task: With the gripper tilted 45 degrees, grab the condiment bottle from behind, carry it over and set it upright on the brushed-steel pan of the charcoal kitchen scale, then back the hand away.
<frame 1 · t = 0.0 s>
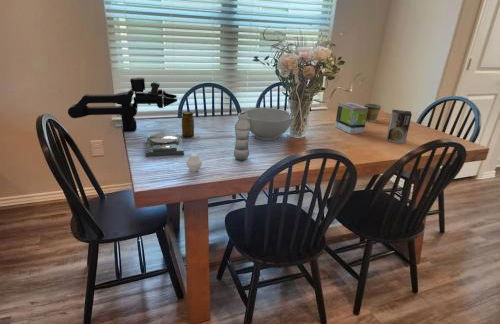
hand: (176, 98, 171), 17 cm above the table, tool horizontal, fingers open, 9 cm apart
scale pan: (164, 137, 150), point 4 cm above the table, slide at 0.0 cm
condiment: (188, 136, 166), on the table
scale base: (165, 147, 149), on the table
coffee box: (395, 141, 172), on the table
decorative bowl: (266, 136, 171), on the table
ceramic cup: (369, 120, 210), on the table
tea box: (348, 130, 188), on the table
plastic bottle: (241, 159, 141), on the table
white egg shape: (194, 170, 128), on the table
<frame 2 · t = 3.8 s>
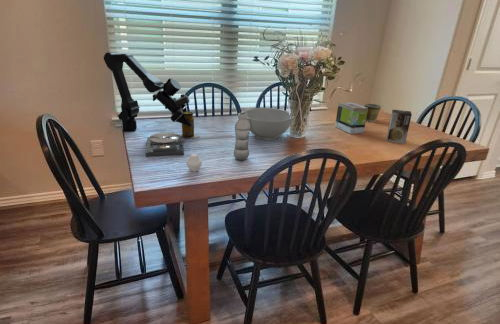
hand: (191, 123, 164), 7 cm above the table, tool tilted 45°, fingers open, 7 cm apart
condiment: (188, 136, 166), on the table, touching gripper
everything else where it was.
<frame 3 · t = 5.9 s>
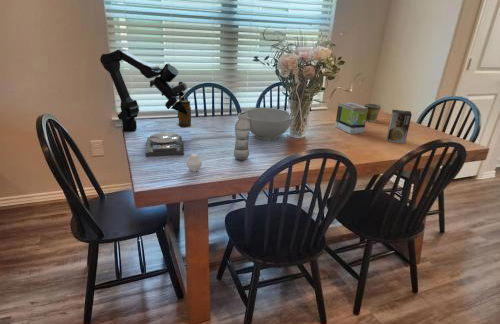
hand: (188, 112, 159), 13 cm above the table, tool tilted 45°, fingers closed on condiment, 6 cm apart
condiment: (185, 125, 161), point 6 cm above the table, touching gripper
everything else where it was.
when the fingers open (12 cm above the table, at t = 7.8 s): condiment drops 2 cm, resting on scale pan.
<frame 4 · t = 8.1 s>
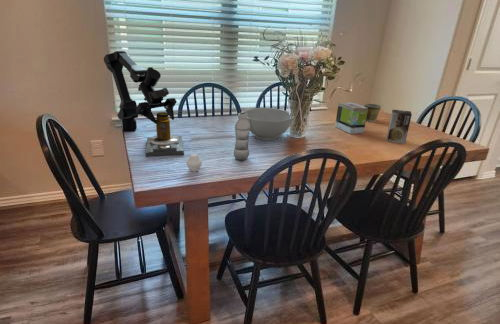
hand: (165, 121, 146), 12 cm above the table, tool tilted 45°, fingers open, 9 cm apart
scale pan: (164, 140, 151), point 3 cm above the table, slide at -1.1 cm, touching condiment
condiment: (162, 139, 150), point 3 cm above the table, touching scale pan
everything else where it was.
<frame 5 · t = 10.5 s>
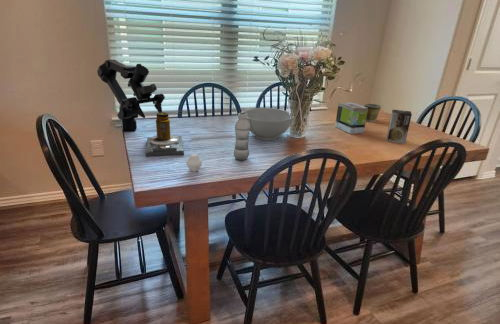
hand: (153, 116, 152), 13 cm above the table, tool tilted 45°, fingers open, 9 cm apart
nothing on the table moved.
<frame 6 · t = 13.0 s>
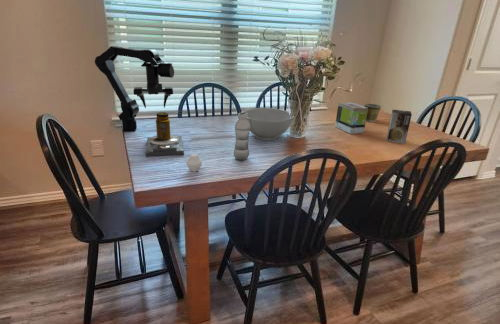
hand: (154, 107, 164), 13 cm above the table, tool pointing down, fingers open, 9 cm apart
nothing on the table moved.
at the end: condiment inside the target area (0.7 cm from its centre), point 3.1 cm above the table; condiment tilted 0°; the gripper is holding nothing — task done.
